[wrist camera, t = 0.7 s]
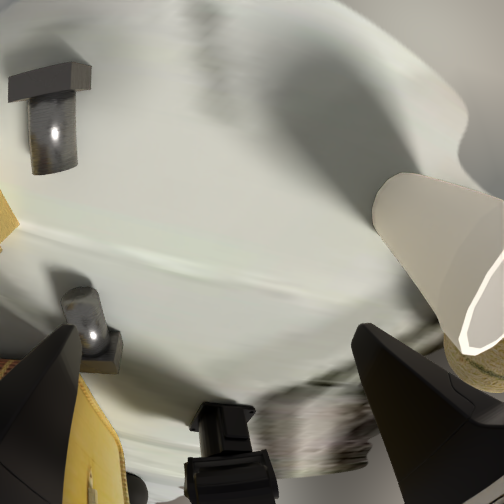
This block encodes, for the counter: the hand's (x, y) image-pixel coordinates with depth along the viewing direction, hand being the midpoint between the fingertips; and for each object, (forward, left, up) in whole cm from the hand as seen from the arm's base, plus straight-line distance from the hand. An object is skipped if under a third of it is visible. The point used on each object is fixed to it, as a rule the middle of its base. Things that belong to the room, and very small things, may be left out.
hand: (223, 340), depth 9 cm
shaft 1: (+2, +11, -14) cm, 18 cm away
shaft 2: (-13, +6, -14) cm, 20 cm away
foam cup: (+5, -15, -14) cm, 21 cm away
